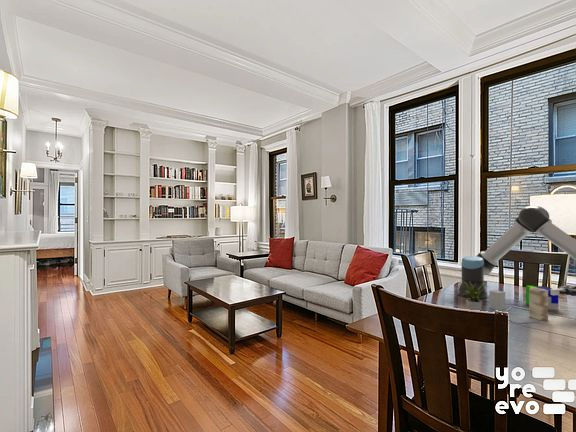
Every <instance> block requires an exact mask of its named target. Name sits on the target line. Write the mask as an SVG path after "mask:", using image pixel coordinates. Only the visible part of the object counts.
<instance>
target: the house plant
mask: <svg viewBox="0 0 576 432" xmlns="http://www.w3.org/2000/svg"><path fill="white" fill-rule="evenodd" d="M463 282H464V281H463ZM476 282H477V281H476ZM465 284H466V285H467V283H466V282H465ZM476 284H477V283H476ZM476 284H475V285H476ZM459 285H461V283H460V284H459ZM463 285H464V284H463ZM475 285H474V286H473V285H472V284H471V282H470V287H471V288H470V287H468V285H467V287H468V288H467V287H466V286H465V285H464V286H465V287H466V288H467V289H468V290H469V291H465V292H467V293H468V295H469V296H470V298H469V297H468V296H467V295H466V293H463V294H462V295H464V294H465V295H466V296H467V297H466V299H465V301H466V307H467V310H468V309H470V310H480V312H482V311H481V310H482V304H483V300H481V299H478V298H479V297H480V296H481V295H486V294H479V293H480V292H481V291H482V290H483V289H484V288H483V289H482V290H481V291H479V290H480V288H481V286H482V285H481V286H480V288H478V289H476V291H474V289H475ZM461 286H462V285H461ZM464 286H463V287H464ZM465 287H464V288H465ZM466 288H465V289H466ZM486 288H489V285H487V286H485V289H486ZM459 292H460V291H459ZM470 293H471V294H470ZM483 297H484V296H483ZM481 298H482V297H481Z"/></svg>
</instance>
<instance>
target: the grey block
mask: <svg viewBox="0 0 576 432" xmlns="http://www.w3.org/2000/svg"><path fill="white" fill-rule="evenodd" d="M488 293H489V295H488V296H489V299H488V300H489V302H488V303H489V305H488V307H489V309H493V310H497V311H502V310H505V309H506V292H505V291H503V290H497V289H493V290H489V291H488Z"/></svg>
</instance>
